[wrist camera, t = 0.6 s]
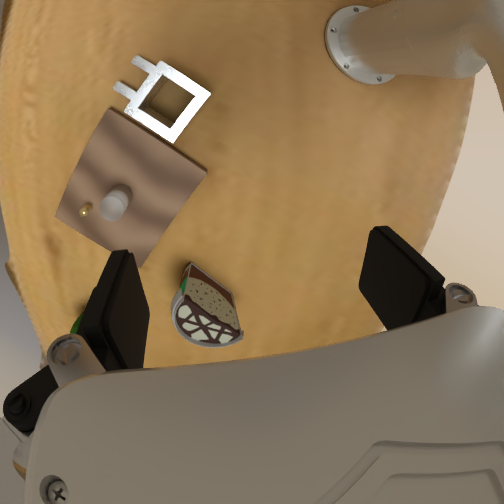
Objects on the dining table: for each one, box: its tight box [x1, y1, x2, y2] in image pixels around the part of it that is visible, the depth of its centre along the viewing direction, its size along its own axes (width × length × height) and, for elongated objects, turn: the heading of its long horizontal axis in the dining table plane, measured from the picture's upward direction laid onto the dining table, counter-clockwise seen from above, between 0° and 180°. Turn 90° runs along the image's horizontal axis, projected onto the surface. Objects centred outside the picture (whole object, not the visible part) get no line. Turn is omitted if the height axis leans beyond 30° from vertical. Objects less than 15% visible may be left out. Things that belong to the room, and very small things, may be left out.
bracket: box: [113, 55, 211, 143], centre depth 28 cm, size 11×7×6 cm, turn 50°
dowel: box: [79, 202, 93, 217], centre depth 34 cm, size 1×1×2 cm
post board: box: [55, 108, 207, 268], centre depth 34 cm, size 18×16×6 cm
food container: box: [171, 262, 244, 348], centre depth 43 cm, size 12×6×10 cm, turn 41°
